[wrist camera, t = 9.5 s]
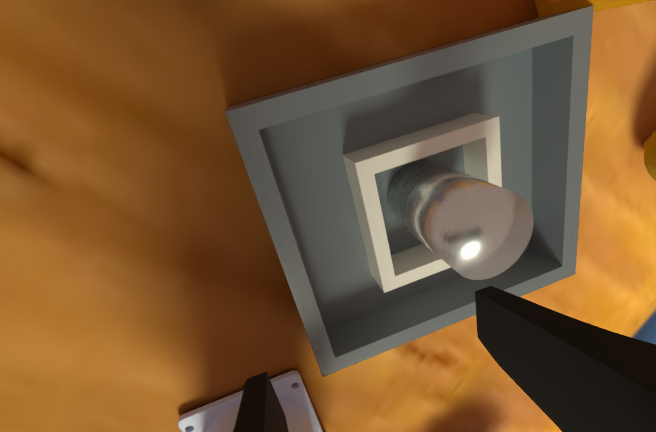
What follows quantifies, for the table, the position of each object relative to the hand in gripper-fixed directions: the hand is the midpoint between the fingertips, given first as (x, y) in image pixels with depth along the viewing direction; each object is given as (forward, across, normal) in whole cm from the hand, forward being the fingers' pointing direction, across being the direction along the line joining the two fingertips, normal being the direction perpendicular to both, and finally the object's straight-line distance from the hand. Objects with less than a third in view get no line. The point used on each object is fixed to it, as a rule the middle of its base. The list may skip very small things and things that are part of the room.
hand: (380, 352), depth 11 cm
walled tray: (+9, -6, -1) cm, 11 cm away
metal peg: (+9, -6, -1) cm, 11 cm away
